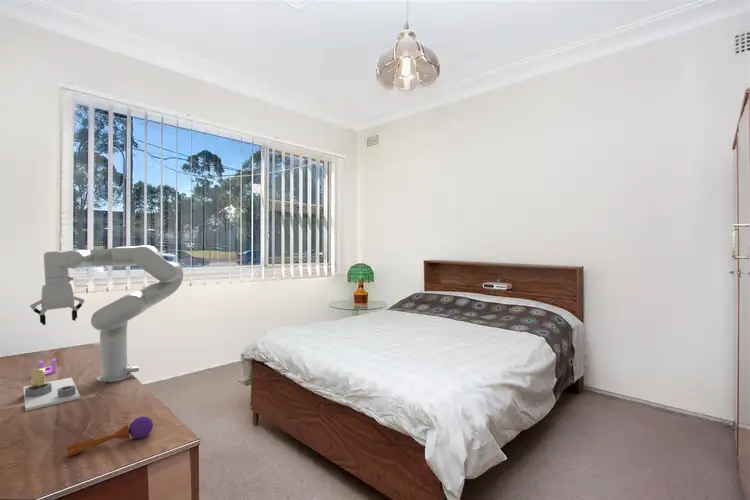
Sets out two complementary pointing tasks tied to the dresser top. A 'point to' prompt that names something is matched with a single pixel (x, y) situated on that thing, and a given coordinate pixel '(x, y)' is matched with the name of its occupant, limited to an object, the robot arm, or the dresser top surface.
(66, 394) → the fitting board
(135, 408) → the dresser top surface
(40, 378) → the brass pipe fitting
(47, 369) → the bracket
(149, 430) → the kendama
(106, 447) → the dresser top surface
